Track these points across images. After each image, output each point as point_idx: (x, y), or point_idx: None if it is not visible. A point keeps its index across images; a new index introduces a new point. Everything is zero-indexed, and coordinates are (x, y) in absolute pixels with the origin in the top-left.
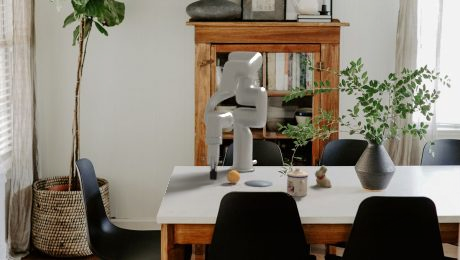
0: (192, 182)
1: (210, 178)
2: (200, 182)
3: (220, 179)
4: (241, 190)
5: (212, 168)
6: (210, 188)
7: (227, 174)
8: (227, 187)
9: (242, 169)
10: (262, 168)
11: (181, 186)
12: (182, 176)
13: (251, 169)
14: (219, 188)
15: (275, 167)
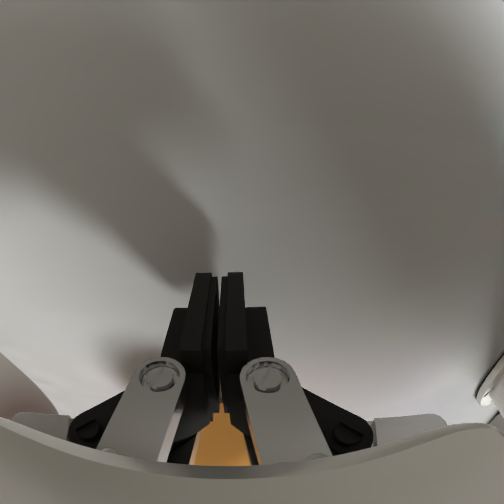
0: (203, 42)
1: (196, 285)
2: (213, 136)
3: (369, 328)
4: (65, 414)
5: (23, 423)
6: (10, 271)
7: (217, 447)
8: (86, 376)
9: (494, 382)
10: (491, 403)
11: (29, 16)
12: (463, 3)
13: (479, 404)
14: (38, 330)
15: (481, 421)
